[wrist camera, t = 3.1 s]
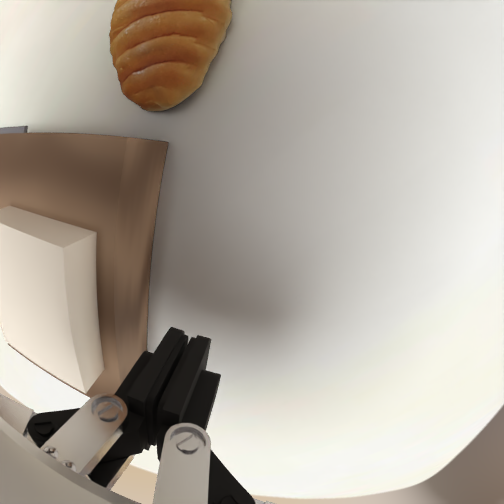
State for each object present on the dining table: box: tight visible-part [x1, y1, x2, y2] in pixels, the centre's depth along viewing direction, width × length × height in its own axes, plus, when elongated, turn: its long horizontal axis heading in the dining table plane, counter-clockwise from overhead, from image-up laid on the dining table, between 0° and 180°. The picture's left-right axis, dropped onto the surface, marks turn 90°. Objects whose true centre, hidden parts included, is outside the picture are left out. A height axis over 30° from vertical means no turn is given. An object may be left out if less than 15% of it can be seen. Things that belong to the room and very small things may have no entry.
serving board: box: [0, 133, 169, 398], centre depth 13 cm, size 16×12×4 cm
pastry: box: [109, 0, 232, 111], centre depth 9 cm, size 9×7×4 cm
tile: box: [0, 206, 105, 394], centre depth 10 cm, size 8×7×2 cm
